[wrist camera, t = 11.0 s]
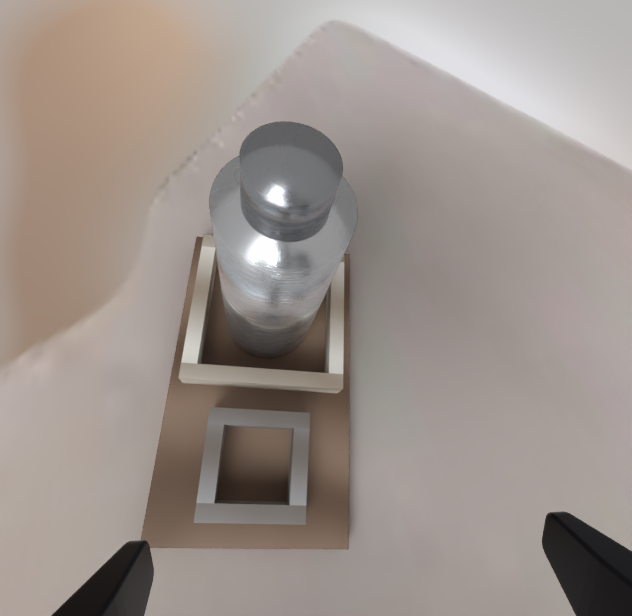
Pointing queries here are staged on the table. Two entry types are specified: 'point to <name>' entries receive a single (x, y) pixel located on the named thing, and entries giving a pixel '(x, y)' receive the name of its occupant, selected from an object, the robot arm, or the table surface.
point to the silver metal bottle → (279, 234)
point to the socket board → (253, 430)
